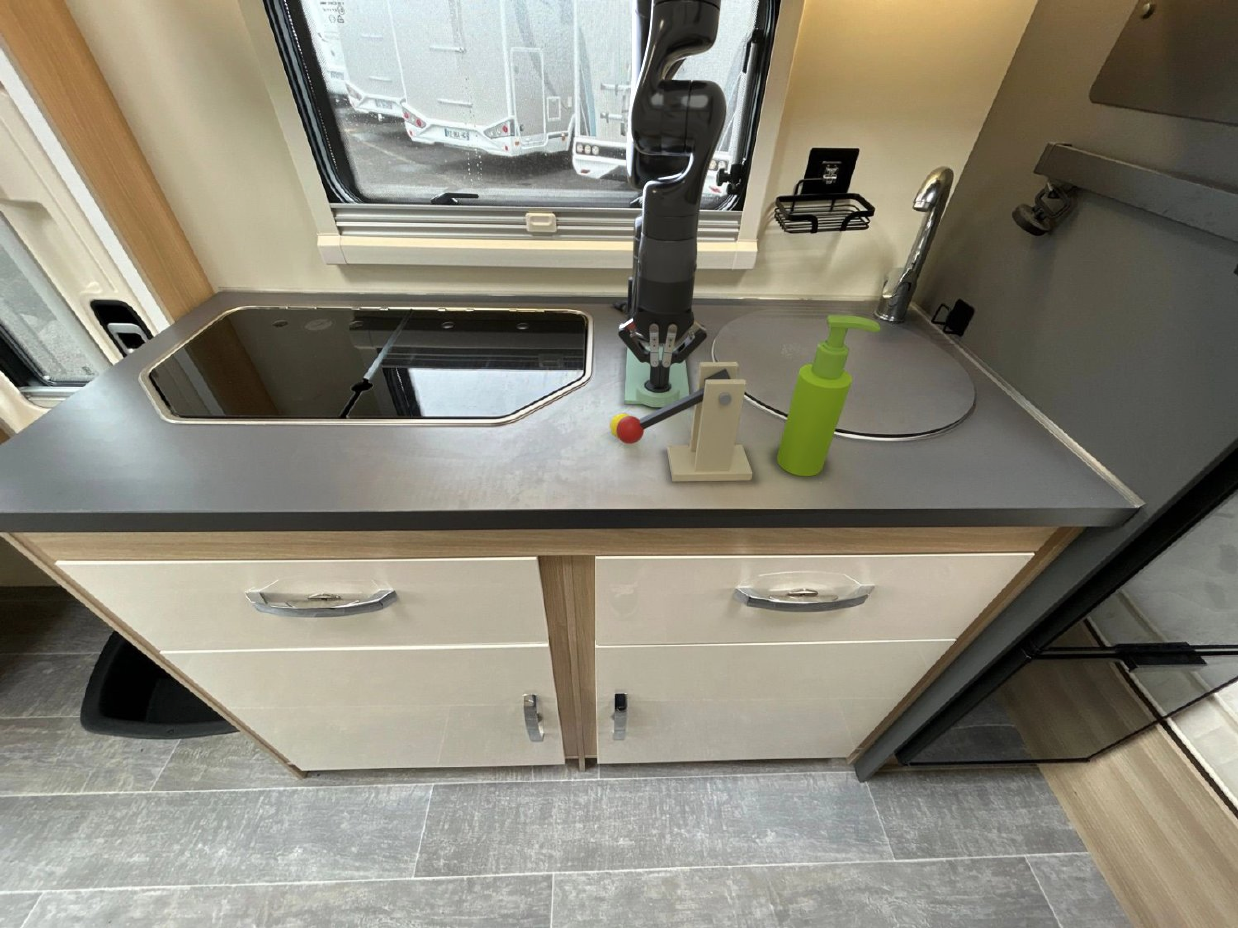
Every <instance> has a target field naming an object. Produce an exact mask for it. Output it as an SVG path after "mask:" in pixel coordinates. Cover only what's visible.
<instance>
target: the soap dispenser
mask: <svg viewBox="0 0 1238 928" xmlns="http://www.w3.org/2000/svg"><path fill="white" fill-rule="evenodd" d="M826 323H827V327H828V328H830V331H829V333H828V338H827V339H826V340H823V341H820V342H819V343H818V344H817V347H816V351H815V355H814V359H813V362H812V363H811V362H810V363H806V364H803V365H802V366H801V367H800V368H799V371H798V375H797V378H796V382H795V387H794V390H793V394H792V398H791V400H790V401H791V402H790V405H789V409H788V413H787V416H786V420H785V423H784V428H783V432H782V436H781V439H780V443H779V447H778V451H777V454H776V462H777V464H778V465H779V467H780V468H782V469H783V470H784V471H786V472H787V473H789V474H791V475H795V476H797V477H798V476H799V477H813V476H816V475H818V474H820V472H821V471H822V470H823V467H824V464H825V462H826V458H827V456H828V453H829V450H830V447H831V444H832V441H833V438H834V436H835V432H836V429H837V426H838V423H839V420H840V418H841V414H842V411H843V408H844V405H845V402H846V399H847V397H848V393H849V391H850V387H851V385H852V382H853V377H852V376H851V374H850V373H849V372H848V371H847V370H845V365H846V363H847V359H848V356H849V353H850V348H849V347H848V345H846V344H845V343H844V342H845V339H846V336H847V332H848V329H854V330H855V329H857V330H864V331H868V332H871V333H878V332H880V331H881V330H882V329H881V326H880V324H879V322H878V321H875V320H872V319H869V318H866V317H863V316H855V315H841V314H840V315H836V314H834V315H833V314H832V315H831V314H830V315H829V314H828V315H827V317H826Z"/></svg>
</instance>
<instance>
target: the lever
mask: <svg viewBox="0 0 1238 928" xmlns="http://www.w3.org/2000/svg"><path fill="white" fill-rule="evenodd" d="M718 379H731V378H730V376H729V374H728V372H727V370H726V369H724V370H721V371H719V372H717V373H715V374H713V375H711V376H709V377H707V378H705V379H704V382H705V381H706V380H718ZM704 389H705V387H704V388H702V389H700V390H698V391H696V390H695V392H692V393H689V395H688V396H686V397H684V398H682V399H680V400H678V401H676V402H674V403H672V404H670V405H668V406H665V407H660V409H657V410H656V411H653V412H652V413H649V414H647V415H645V416H643V417H641V418H638V417H636V416H633V415H629V416H627V417H624V418H622V419H621V420H620V421H619V422H618V424H617V427H616V433H617V436H618V440H619V441H621V442H622V443H624V444H627V445H631V444H632V445H634V444H636V443H638V442H639V441H640V440H641V439H642V438H643V436H644V432H645V430H646V429H648V428H650V427H653V426H655V425H656V424H659V423H660V422H663V421H665V420H667V419H669V418H671V417H673V416H675V415H677V414H680V413H681V412H683V411H685V410H689V408H692V407H694V406H695V405H696V404H698V403H700V402H702V401H703V396H704Z"/></svg>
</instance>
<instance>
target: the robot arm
mask: <svg viewBox="0 0 1238 928" xmlns="http://www.w3.org/2000/svg"><path fill="white" fill-rule="evenodd" d="M721 6H722V0H632V76H631V77H632V78H631V93H630V105H629V112H628V123H627V124H628V128H627V140H626V151H625V152H626V155H625V171H626V178H627V182H628V185H629V187H630V188H631V189H632V190H634V191H636V192H642V200H641V213H639V214H638V215H637V216H636V217H635V218H634V221H633V233H632V234H633V235H632V273H631V274H632V275H631V276H630V277H629V278H628V279H627V300H622V301H620V302H618V301H613V302H612V306H613V307H614V308H616V309H619V310H620V309H623V307H625V308H624V314H625V315H626V318H627V319H626V322H620V323H619V325H618V332H617V333H618V337H619V338H620V339H621V341H622V342H623V343H624V344H625V346H626V348H627V347H628V348H629V349H630V350H631V352H632V353H633V354H634V355H635V357H636V358H637V359H638V360H639V361H640V362H641V363H644V362H647V363H649V364H650V383H651V384H654V388H664V385H667V384H668V383H669V374H670V366H671V365H672V364H674V363H678V364H680V363H682V362H683V361H684V360H685V361H686V359H688V357H689V356H690V355H692V353H693V352H694V351H695V350H696V349H698V347H699V346H700V345H702V343H703V342H704V341H705V340H706V339H707V338H708V334H707V328H706V325H704V324H699V323H698V322H697V321H696V320H695V316H694V315H695V314H694V313H693V299H694V291H695V280H696V273H697V269H698V231H699V222H700V213H701V203H702V198H703V191H704V187H705V183H706V180H707V176H708V173H709V169H710V167H711V163H712V160H713V158H714V155H715V153H716V150H717V147H718V144H719V142H720V140H721V136H722V135H723V131H724V129H725V124H726V120H727V111H728V109H727V99H726V96H725V93H724V91H723V89H722V87H721V86H720V85H719V84H718V83H716V82H715V81H713V80H707V79H693V80H691V79H673V78H674V77H675V76H676V74H677V73H678V72H679V70H680V69H681V67H682V66H683V65H684V63H685V62H686V60H687V59H688V58H689V57H694V56H697V55H701V54H704V53H706V52H708V51H710V50H711V49H712V48H713V47H714V45H715V43H716V41H717V36H718V33H719V25H720V15H721ZM687 332H688V335H687V337H686V338H685V339H684V340H683V341H682V342H681V343H680V344H679V345H678V346H677V347H676V348H677V349H676V350H675V351H673V349H674V348H675V344H676V343H677V342H679V341H680V340H681V339H682V337H683V336H684V335H685V334H686V333H687ZM640 339H641V340H644V341H646V342H647V343H649V347H650V351H648V350H646V348H645V347H646V346H644V344H643V343H642V342H641V341H640ZM661 344H662V347H663V351H662V360H659V347H660V345H661Z"/></svg>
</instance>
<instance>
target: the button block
mask: <svg viewBox="0 0 1238 928" xmlns="http://www.w3.org/2000/svg"><path fill="white" fill-rule="evenodd" d="M644 347H645V348H646V350H648V351H650V346H644ZM677 348H678V347H674V349H673V351H675V350H676V349H677ZM662 351H663V346H659V360H662ZM648 381H650V364H649V363H647V362H644V363H641V362H640V361H639V360H638V359H637V358H636V357H635V355H634V354H633V353H632V352H631V350H630V349H629V348H628V347H627V346H626V366H625V384H624V398H623V399H624V401H623V402H624V404H625V405H629V404H630V405H645V406H648V407H650V408H663V407H665V406H668V405H670V404H672V403H674V402H676V401H678V400H680V399H682V398H684V397H686V396H688V395H690V388H689V387H690V386H689V379H688V372H687V363H686V359H685V360H684V361H683V362H682V363H680V364H678V363H674V364H672V365H671V366H670V374H669V385H670V390H669V391H668V392H664V393H654V392H651V391H648V390H647V389H646V384H647V382H648Z"/></svg>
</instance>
